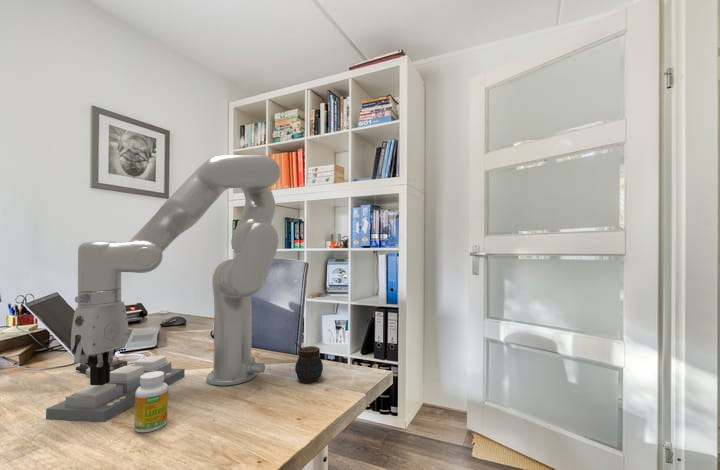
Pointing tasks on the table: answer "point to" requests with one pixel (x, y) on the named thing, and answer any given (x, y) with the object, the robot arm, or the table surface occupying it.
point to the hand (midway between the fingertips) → (100, 383)
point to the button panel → (107, 399)
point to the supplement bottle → (151, 402)
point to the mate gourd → (309, 364)
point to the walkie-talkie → (113, 366)
